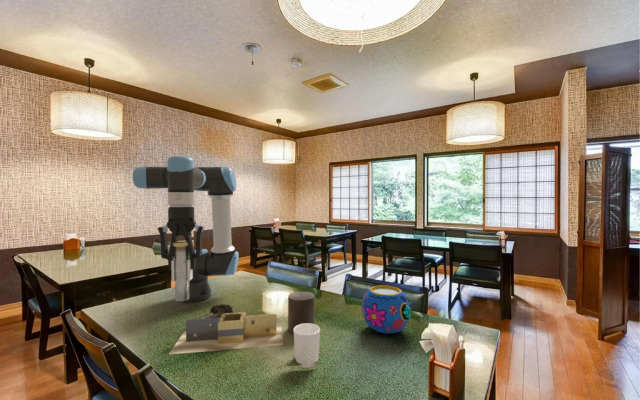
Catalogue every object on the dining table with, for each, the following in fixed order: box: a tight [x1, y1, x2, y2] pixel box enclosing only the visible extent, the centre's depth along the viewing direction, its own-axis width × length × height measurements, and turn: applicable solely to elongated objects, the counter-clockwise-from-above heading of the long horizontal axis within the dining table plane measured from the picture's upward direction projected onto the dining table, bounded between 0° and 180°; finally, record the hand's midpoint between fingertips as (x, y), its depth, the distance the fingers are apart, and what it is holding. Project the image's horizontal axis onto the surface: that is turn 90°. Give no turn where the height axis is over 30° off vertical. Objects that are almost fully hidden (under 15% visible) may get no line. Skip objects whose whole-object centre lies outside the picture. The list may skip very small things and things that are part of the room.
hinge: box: [185, 311, 277, 344], centre depth 100 cm, size 8×30×7 cm, turn 99°
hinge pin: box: [172, 240, 189, 302], centre depth 92 cm, size 5×5×18 cm
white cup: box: [293, 323, 321, 369], centre depth 87 cm, size 8×8×10 cm
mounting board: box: [167, 323, 284, 355], centre depth 100 cm, size 16×35×1 cm, turn 99°
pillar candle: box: [287, 291, 316, 336], centre depth 106 cm, size 10×10×15 cm
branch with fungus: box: [196, 303, 234, 319], centre depth 116 cm, size 18×7×6 cm, turn 149°
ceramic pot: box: [361, 285, 412, 335], centre depth 107 cm, size 18×18×15 cm
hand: (182, 279), depth 92 cm, fingers closed on hinge pin, 4 cm apart
